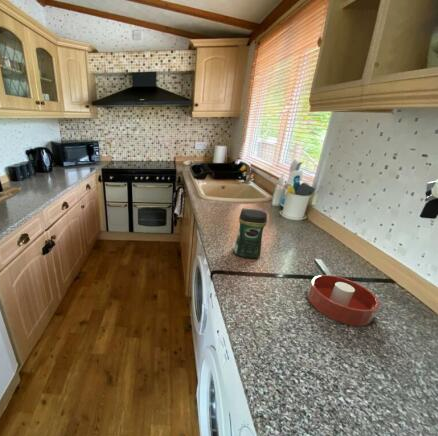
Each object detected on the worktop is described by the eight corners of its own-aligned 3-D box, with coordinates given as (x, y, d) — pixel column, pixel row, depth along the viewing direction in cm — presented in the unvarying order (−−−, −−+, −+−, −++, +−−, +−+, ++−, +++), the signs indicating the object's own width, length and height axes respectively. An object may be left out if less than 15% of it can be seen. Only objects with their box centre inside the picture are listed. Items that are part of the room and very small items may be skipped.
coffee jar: (258, 250, 99) (267, 207, 91) (260, 260, 92) (270, 215, 84) (233, 246, 101) (240, 205, 94) (233, 256, 94) (241, 212, 87)
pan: (354, 292, 75) (359, 278, 73) (386, 330, 62) (393, 315, 60) (300, 284, 79) (304, 271, 77) (319, 319, 65) (324, 305, 63)
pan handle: (319, 262, 85) (320, 259, 84) (333, 279, 76) (334, 276, 75) (313, 261, 85) (314, 258, 85) (325, 278, 76) (327, 275, 76)
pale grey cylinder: (343, 299, 72) (349, 283, 69) (350, 310, 68) (358, 293, 65) (326, 297, 72) (332, 280, 70) (333, 307, 68) (339, 290, 66)
